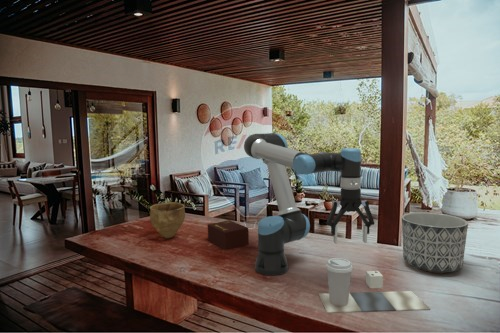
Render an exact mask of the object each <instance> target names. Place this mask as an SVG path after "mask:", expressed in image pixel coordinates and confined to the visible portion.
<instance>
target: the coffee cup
mask: <svg viewBox="0 0 500 333" xmlns="http://www.w3.org/2000/svg"><path fill="white" fill-rule="evenodd" d="M325 269H326V271H327V272H326V273H327V274H326V275H327V283H328V284H327V285H328V286H327V287H328V293H329V298H330V303H331V304H333V305H336V306H346V305H347V304H348V300H349V293H350V288H351V281H352V280H351V278H352V272H353V270H354V268H353V265H352V263H351V261H350V260H348V259H345V258H343V257H333V258H329V259H328V260H327V263H326V264H325Z"/></svg>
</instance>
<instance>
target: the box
mask: <svg viewBox="0 0 500 333" xmlns="http://www.w3.org/2000/svg"><path fill="white" fill-rule="evenodd" d="M207 240H208V242H210V243H212V244H214V245H215V246H217V247H219V248H221V249H222V250H224V251H229V250H233V249H237V248H241V247H246V246H249V245H250V240H249V227H247V226H244V225H242V224H240V223H237V222H234V221H232V220H230V219H229V220H223V221H218V222H211V223H207Z"/></svg>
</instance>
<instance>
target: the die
mask: <svg viewBox="0 0 500 333" xmlns="http://www.w3.org/2000/svg"><path fill="white" fill-rule="evenodd" d="M365 284H366V285H367V286H368V288H369V289H384V275H383V274H382V273H381V272H380V271H379V270H365Z"/></svg>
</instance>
